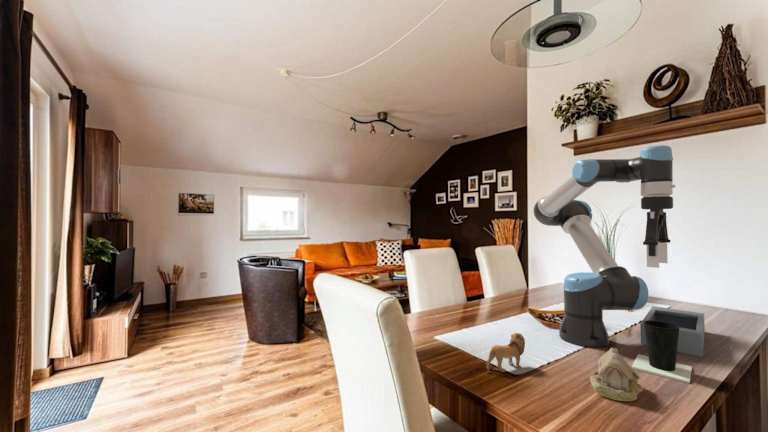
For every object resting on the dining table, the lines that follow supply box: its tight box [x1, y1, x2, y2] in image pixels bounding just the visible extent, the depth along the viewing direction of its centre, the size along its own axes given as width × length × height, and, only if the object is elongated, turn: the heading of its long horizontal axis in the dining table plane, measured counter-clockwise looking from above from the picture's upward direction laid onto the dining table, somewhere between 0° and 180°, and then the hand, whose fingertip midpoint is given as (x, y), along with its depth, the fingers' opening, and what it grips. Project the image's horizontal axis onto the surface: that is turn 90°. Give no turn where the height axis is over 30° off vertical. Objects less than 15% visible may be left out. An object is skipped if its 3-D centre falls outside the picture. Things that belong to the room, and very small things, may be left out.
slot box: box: [640, 305, 706, 358], centre depth 115 cm, size 15×32×7 cm, turn 134°
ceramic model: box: [589, 347, 644, 402], centre depth 80 cm, size 14×11×10 cm
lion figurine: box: [485, 332, 526, 373], centre depth 92 cm, size 15×5×9 cm, turn 120°
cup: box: [644, 320, 679, 371], centre depth 91 cm, size 8×8×12 cm
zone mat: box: [631, 353, 693, 384], centre depth 91 cm, size 12×12×1 cm
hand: (657, 265), depth 98 cm, fingers open, 13 cm apart
